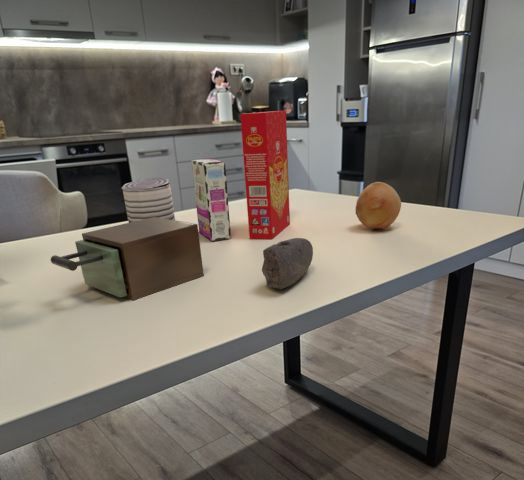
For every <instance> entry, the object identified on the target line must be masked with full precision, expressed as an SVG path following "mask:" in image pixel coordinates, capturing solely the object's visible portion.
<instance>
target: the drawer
mask: <svg viewBox="0 0 524 480" xmlns="http://www.w3.org/2000/svg"><path fill="white" fill-rule="evenodd" d="M91 241H92V240H91ZM74 242H75V243H74V244H75V247H76V252H74V253H71V254H70V253H69V254H66V255H62V256H59V255H56V254H55V255H52V256H51V257H50V262H51V264H52V265H54V266H56V267H57V266H58V267H60V268H63V269H66V270H69V271H72V272H74V271H76V270H77V269H78V267H80V269H81V272H82V277H83V282H84V284H85V285H87V286H88V287H92V288H95V289H97V290H100V291H102V292H105V293H108V294H110V295H113V296H115V297H118V298H124V297H123V296H126V295H127V293H126V288H127V289H128V285H127V280H126V275H125V270H124V265H123V260H122V255H121V250H120V248H119V247H115V246H111V245H107V244H103V243H100V242H96V241H92V243H90V242H87V241H83V239H82V240H81V239H80V240H76V241H74ZM76 258H78V261H77V260H76V261H74V260H73V259H76Z"/></svg>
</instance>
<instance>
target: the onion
mask: <svg viewBox="0 0 524 480" xmlns="http://www.w3.org/2000/svg"><path fill="white" fill-rule="evenodd" d="M401 209H402V200H401V197H400V195H399V194H398V192H397V191H396V190H395V188H394V187H392V185H390V184H387V183H385V182H382V181H375V182H372V183H370V184H369V185H367V186H366V187H365V188H364V189H362V191H361V192H360V194H359V196H358V198H357V200H356V204H355V215H356V217H357V219H358V221H359V222H360V223H361V224H362V225H363V226H364V227H366V228H368V229H387V228H388V227H390V226H391V225H392V224H393V223H394V222H395V221H396V220H397V218H398V217H399V215H400V212H401Z"/></svg>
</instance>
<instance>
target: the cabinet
mask: <svg viewBox="0 0 524 480" xmlns="http://www.w3.org/2000/svg"><path fill="white" fill-rule="evenodd" d="M81 237H82V240H83V241H87V242H90V243H92V241H96V242H100V243H103V244H107V245H111V246H115V247H119V248H120V250H121V255H122V260H123V265H124V270H125V275H126V280H127V285H128V289H127V288H126V293H127V295H126V296H123V297H122V298H125V299H128V300H131V301H135V300H138V299H141V298H144V297H147V296H150V295H153V294H156V293H158V292H161V291H165V290H167V289H170V288H173V287H176V286H179V285H182V284H184V283H187V282H190V281H192V280H196V279H200V278H202V277H204V276H205V275H204V268H203V267H204V266H203V259H202V258H203V257H202V251H201V250H202V249H201V241H200V232H199V225H198V223H193V222H186V221H181V220H176V219H175V220H169V219H163V218H157V217H152V218H148V219H143V220H139V221H135V222H130V223H129V222H126V223H122V224H118V225H114V226H109V227H104V228H100V229H96V230H92V231H91V230H90V231H87V232H83V233H81ZM91 240H92V241H91Z"/></svg>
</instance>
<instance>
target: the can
mask: <svg viewBox="0 0 524 480" xmlns="http://www.w3.org/2000/svg"><path fill="white" fill-rule="evenodd" d="M170 181H171V178H164V177H151V178H144V179H138V180H134V181H131V182H127V183H125V184H123V186H122V187H121V189H122V194H123V200H124V205H125V211H126V216H127V221H128V222H127V223H130V222H135V221H139V220H143V219H148V218H152V217H157V218H163V219H169V220H175V221H176V217H175V209H174V202H173V194H172V187H171V183H169V182H170Z"/></svg>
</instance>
